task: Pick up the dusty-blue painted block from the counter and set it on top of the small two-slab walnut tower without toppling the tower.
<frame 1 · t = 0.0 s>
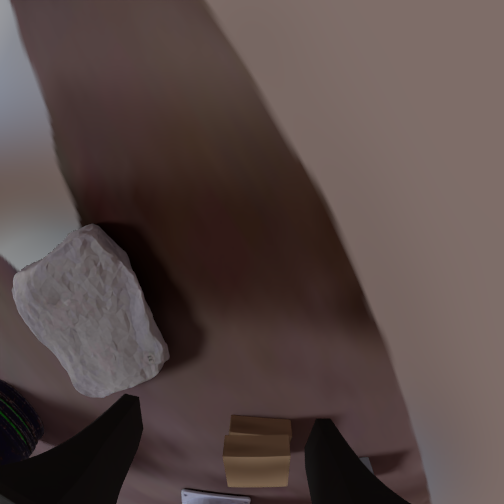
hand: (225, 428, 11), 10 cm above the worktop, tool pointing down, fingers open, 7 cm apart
stone block: (104, 305, 21), on the worktop
tower top slab: (257, 452, 22), point 2 cm above the worktop, touching tower bottom slab
storage jar: (14, 408, 25), on the worktop
tower bottom slab: (257, 433, 24), on the worktop, touching tower top slab
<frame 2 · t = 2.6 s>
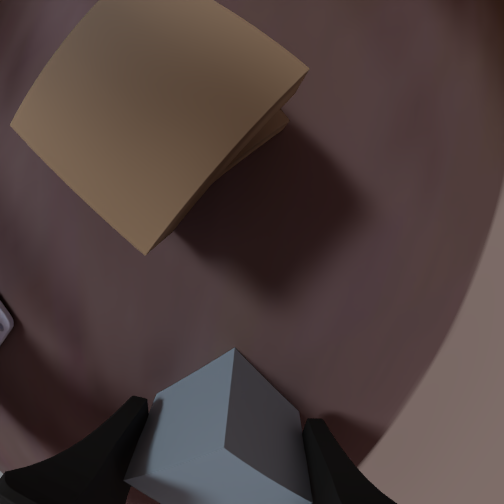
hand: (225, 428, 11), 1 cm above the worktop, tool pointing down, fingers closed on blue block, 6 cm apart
tower top slab: (162, 105, 7), point 2 cm above the worktop, touching tower bottom slab
blue block: (227, 405, 12), on the worktop, touching gripper
tower bottom slab: (178, 120, 10), on the worktop, touching tower top slab
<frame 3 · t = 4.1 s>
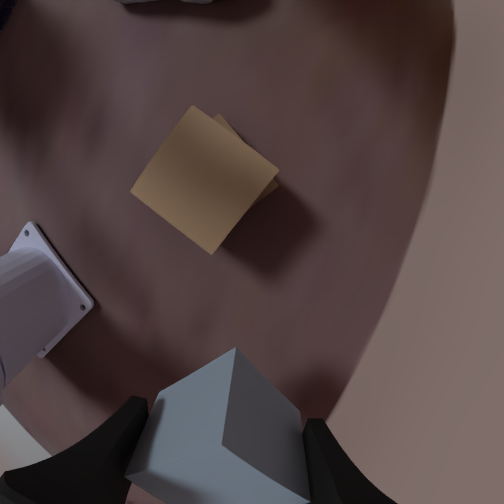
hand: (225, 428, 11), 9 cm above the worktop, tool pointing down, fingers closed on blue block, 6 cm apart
tower top slab: (208, 178, 16), point 2 cm above the worktop
blue block: (228, 404, 12), point 8 cm above the worktop, touching gripper
tower bottom slab: (217, 177, 18), on the worktop
when the fingers open (7 cm above the worktop, at t = 5.9 s): blue block moves 1 cm, resting on tower top slab.
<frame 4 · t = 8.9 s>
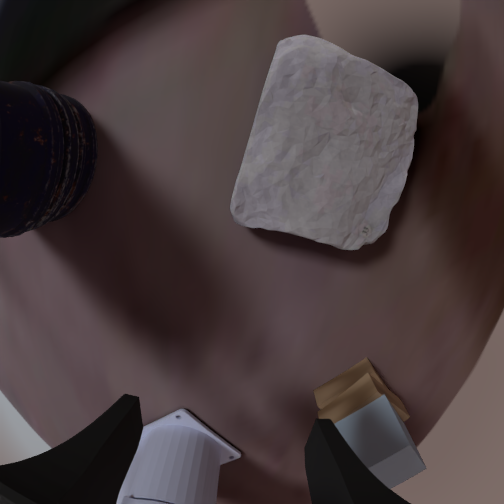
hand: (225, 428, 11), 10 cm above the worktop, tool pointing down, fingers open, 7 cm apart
stone block: (327, 148, 19), on the worktop
tower top slab: (360, 406, 21), point 2 cm above the worktop, touching blue block, tower bottom slab
storage jar: (46, 157, 18), on the worktop
blue block: (368, 425, 19), point 4 cm above the worktop, touching tower top slab
tower bottom slab: (352, 388, 23), on the worktop, touching tower top slab
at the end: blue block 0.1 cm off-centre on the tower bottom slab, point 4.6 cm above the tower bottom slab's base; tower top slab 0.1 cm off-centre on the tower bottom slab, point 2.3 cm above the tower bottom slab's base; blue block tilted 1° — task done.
